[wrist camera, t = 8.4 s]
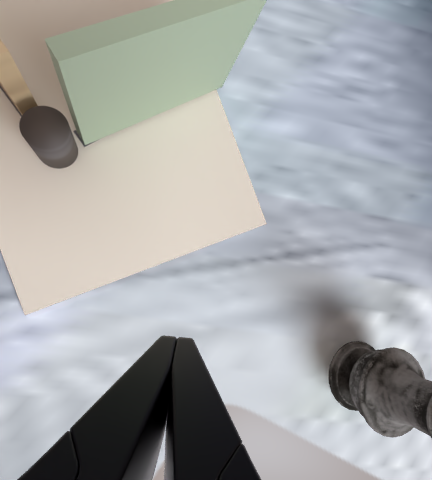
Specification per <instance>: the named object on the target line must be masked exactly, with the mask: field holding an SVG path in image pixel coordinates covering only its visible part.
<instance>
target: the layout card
mask: <svg viewBox="0 0 432 480" xmlns="http://www.w3.org/2000/svg"><path fill="white" fill-rule="evenodd" d="M170 1H173V0H0V39H1V41H2V42H3V44H4V45H5V46H6V48H7V49H8V51H9V52H10V54H11V56H12V58H13V60H14V62H15V64H16V66H17V67H18V69H19V71H20V73H21V75H22V77H23V79H24V81H25V83H26V84H27V86H28V88H29V90H30V92H31V94H32V96H33V98H34V100H35V102H36V103H37V105H38V106H49V107H52V108H55V109H57V110H58V111H60V112H61V113H62V114H63V115H64V116H65V117H66V119H67V121H68V123H69V126H70V129H71V131H72V134H73V136H74V139H75V142H76V144H77V147H78V156H77V159H76V160H75V162H74V163H73V164H72V165H70V166H68V167H66V168H61V169H57V168H52V167H49V166H47V165H45V164H44V163H43V162H42V161H41V160H40V159H39V157H38V156H37V155H36V153H35V152H34V151H33V149H32V148H31V147H30V145H29V144H28V143H27V141H26V140H25V139H24V137H23V136H22V134H21V132H20V128H19V122H20V119H21V117H22V114H21V113H20V112H19V110H18V109H17V107H16V106H15V105H14V103H13V102H12V101H11V99H10V98H9V97H8V95H7V94H6V92H5V91H4V90H3V88H2V87H1V86H0V250H1V253H2V255H3V258H4V261H5V263H6V266H7V269H8V271H9V274H10V277H11V279H12V282H13V285H14V287H15V290H16V293H17V295H18V298H19V301H20V303H21V306H22V309H23V311H24V314H25V315H27V314H30V313H32V312H35V311H38V310H40V309H43V308H45V307H48V306H51V305H53V304H56V303H59V302H61V301H64V300H67V299H69V298H72V297H75V296H77V295H80V294H83V293H85V292H88V291H90V290H93V289H96V288H98V287H101V286H104V285H106V284H109V283H112V282H114V281H117V280H120V279H122V278H125V277H127V276H130V275H133V274H135V273H138V272H141V271H143V270H146V269H149V268H151V267H154V266H157V265H159V264H162V263H164V262H167V261H170V260H172V259H175V258H178V257H180V256H183V255H186V254H188V253H191V252H194V251H196V250H199V249H201V248H204V247H207V246H209V245H212V244H215V243H217V242H220V241H223V240H225V239H228V238H231V237H233V236H236V235H239V234H241V233H244V232H246V231H249V230H252V229H254V228H257V227H260V226H262V225H265V224H267V223H266V221H265V218H264V215H263V213H262V210H261V207H260V205H259V202H258V199H257V197H256V194H255V191H254V189H253V186H252V183H251V181H250V178H249V175H248V173H247V170H246V167H245V165H244V162H243V159H242V157H241V154H240V151H239V149H238V146H237V143H236V141H235V138H234V135H233V133H232V130H231V127H230V125H229V122H228V119H227V117H226V114H225V111H224V109H223V106H222V103H221V101H220V98H219V95H218V93H217V90H214V91H211V92H209V93H207V94H204V95H202V96H200V97H197V98H195V99H193V100H190V101H188V102H186V103H183V104H181V105H178V106H176V107H174V108H171V109H169V110H167V111H164V112H162V113H160V114H157V115H155V116H153V117H150V118H148V119H146V120H143V121H141V122H139V123H136V124H134V125H131V126H129V127H127V128H124V129H122V130H120V131H117V132H115V133H113V134H110V135H108V136H106V137H103V138H101V139H99V140H96V141H94V142H92V143H89V144H87V145H84V143H83V141H82V140H81V138H80V136H79V135H78V133H77V131H76V128H75V125H74V122H73V119H72V117H71V114H70V111H69V108H68V105H67V102H66V99H65V96H64V94H63V91H62V88H61V85H60V82H59V79H58V76H57V74H56V71H55V68H54V65H53V62H52V59H51V56H50V53H49V51H48V48H47V45H46V42H45V39H46V38H49V37H53V36H56V35H59V34H63V33H66V32H69V31H73V30H76V29H80V28H83V27H86V26H90V25H93V24H96V23H100V22H103V21H106V20H110V19H113V18H116V17H120V16H123V15H126V14H130V13H133V12H136V11H140V10H143V9H146V8H150V7H153V6H156V5H160V4H163V3H166V2H170Z"/></svg>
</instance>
